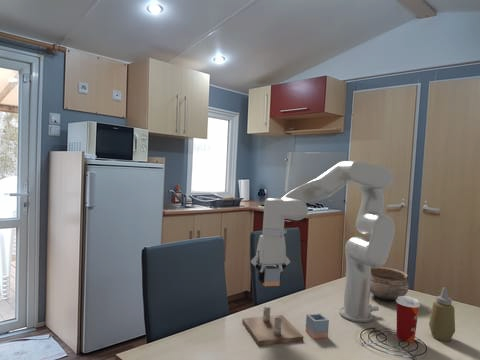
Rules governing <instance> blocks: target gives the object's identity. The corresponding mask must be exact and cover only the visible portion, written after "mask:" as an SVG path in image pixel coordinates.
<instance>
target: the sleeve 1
mask: <svg viewBox="0 0 480 360" xmlns="http://www.w3.org/2000/svg"><path fill="white" fill-rule="evenodd" d="M263 272H264V283H263V284H262V285H263V286H264V287H279V286H280V283H281V280H280V272H281V269H280V268H278V267H277V266H276V264H271V265H266V266H265V268H264V271H263ZM281 273H282V272H281Z"/></svg>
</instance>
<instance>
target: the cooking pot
mask: <svg viewBox="0 0 480 360" xmlns="http://www.w3.org/2000/svg"><path fill="white" fill-rule="evenodd" d="M370 268H371V284H370V294H372V295H373V296H375V297H377V298H378V299H380V300H382V301H387V302H391V301H393V300H396V299H397V298H398V296H406V294H407V293H408V292H409V288H410V287H409V281H408V279H407V277H408V276H409V275H408V274H407V273H406V272H404V271H401V270H398V269H395V268H390V267H386V266H384V267H383V266H381V267H379V268H373V267H370Z"/></svg>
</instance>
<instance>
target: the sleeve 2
mask: <svg viewBox="0 0 480 360" xmlns="http://www.w3.org/2000/svg"><path fill="white" fill-rule="evenodd" d="M305 317H306V318H305V332H306V333H307V334H308V335H309V336H310V337H311V338H312V339H323V338H325V339H326V338H329V325H330V319H328V318H327V317H326V316H324V314H322V313H321V312H320V313H309V314H306V316H305Z"/></svg>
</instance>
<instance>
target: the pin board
mask: <svg viewBox="0 0 480 360" xmlns="http://www.w3.org/2000/svg"><path fill="white" fill-rule="evenodd" d="M241 322H242V324H243V325H244V328H246V330H247V331H248V333H249V334H250V336H251V337H252V338H253V339H252V340H254V341H255V343H256V344H257V345H258V346H267V345H277V344H285V343H296V342H304V335H303V334H302V333H301V332H300V331H299V329H297V328H296V327H295V326H294V325H293V324H292V323H291V322H290V321H289V320H288V319H287V318H286V317H285V316H284V315H283V314H279V315H271V306H269V305H264V306H263V316H257V317H256V316H255V317H253V316H252V317H242V321H241Z"/></svg>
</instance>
